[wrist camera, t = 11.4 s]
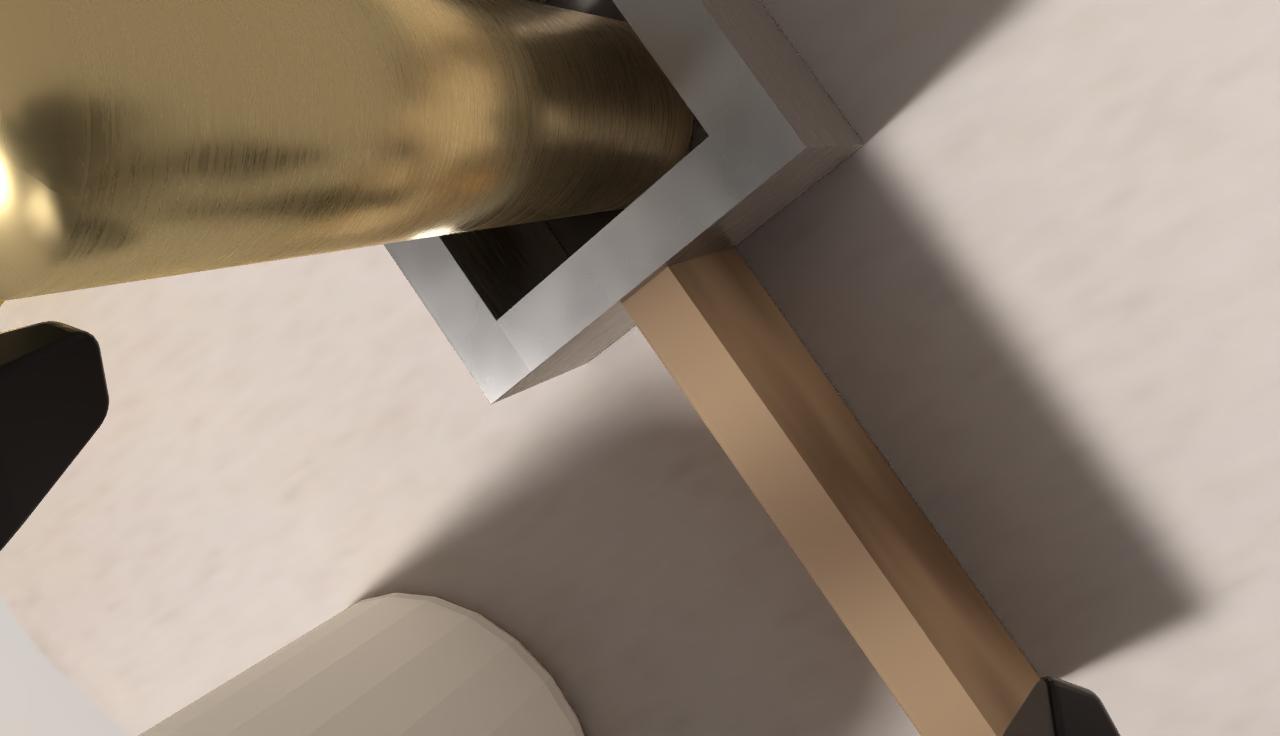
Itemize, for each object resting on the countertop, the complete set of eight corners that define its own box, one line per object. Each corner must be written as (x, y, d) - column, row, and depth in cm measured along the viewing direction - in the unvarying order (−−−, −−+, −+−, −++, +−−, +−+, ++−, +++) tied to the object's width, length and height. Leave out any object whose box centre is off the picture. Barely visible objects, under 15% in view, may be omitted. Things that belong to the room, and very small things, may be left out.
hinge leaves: (1045, 685, 21) (1029, 783, 18) (994, 708, 21) (970, 807, 18) (254, -431, 23) (119, -517, 20) (227, -384, 24) (91, -461, 21)
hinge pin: (729, 93, 21) (139, 39, 9) (626, 245, 23) (13, 382, 10) (589, -18, 22) (-132, -214, 9) (501, 136, 23) (-206, 143, 11)
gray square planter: (864, 144, 20) (805, 147, 16) (586, 363, 24) (491, 404, 20) (633, -172, 21) (529, -234, 17) (399, 89, 24) (274, 82, 21)
